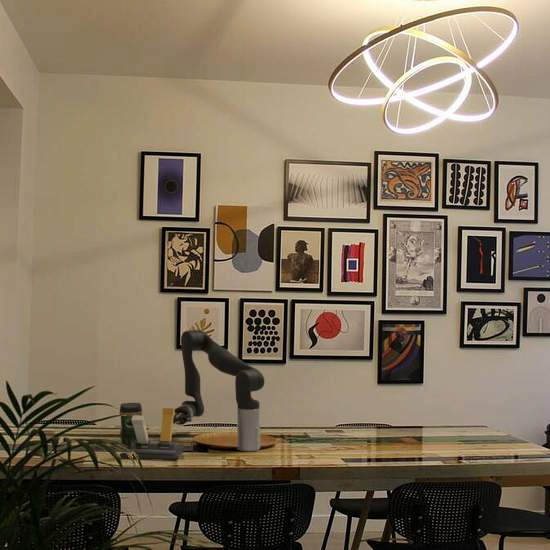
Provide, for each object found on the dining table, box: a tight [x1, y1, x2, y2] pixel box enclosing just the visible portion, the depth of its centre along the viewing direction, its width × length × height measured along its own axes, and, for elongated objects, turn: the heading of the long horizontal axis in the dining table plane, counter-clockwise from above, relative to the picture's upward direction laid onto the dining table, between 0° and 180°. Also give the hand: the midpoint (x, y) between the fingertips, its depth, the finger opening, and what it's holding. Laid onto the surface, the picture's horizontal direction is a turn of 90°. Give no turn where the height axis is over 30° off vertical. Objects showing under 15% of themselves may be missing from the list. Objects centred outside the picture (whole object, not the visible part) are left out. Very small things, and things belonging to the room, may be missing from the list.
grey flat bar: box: [119, 449, 180, 461], centre depth 306 cm, size 24×2×4 cm, turn 81°
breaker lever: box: [159, 407, 176, 447], centre depth 316 cm, size 4×3×15 cm, turn 81°
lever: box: [131, 415, 151, 446], centre depth 311 cm, size 4×3×15 cm
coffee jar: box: [118, 402, 143, 447], centre depth 329 cm, size 10×8×19 cm
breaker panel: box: [129, 440, 185, 457], centre depth 314 cm, size 20×12×5 cm, turn 81°
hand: (171, 421), depth 322 cm, fingers closed
